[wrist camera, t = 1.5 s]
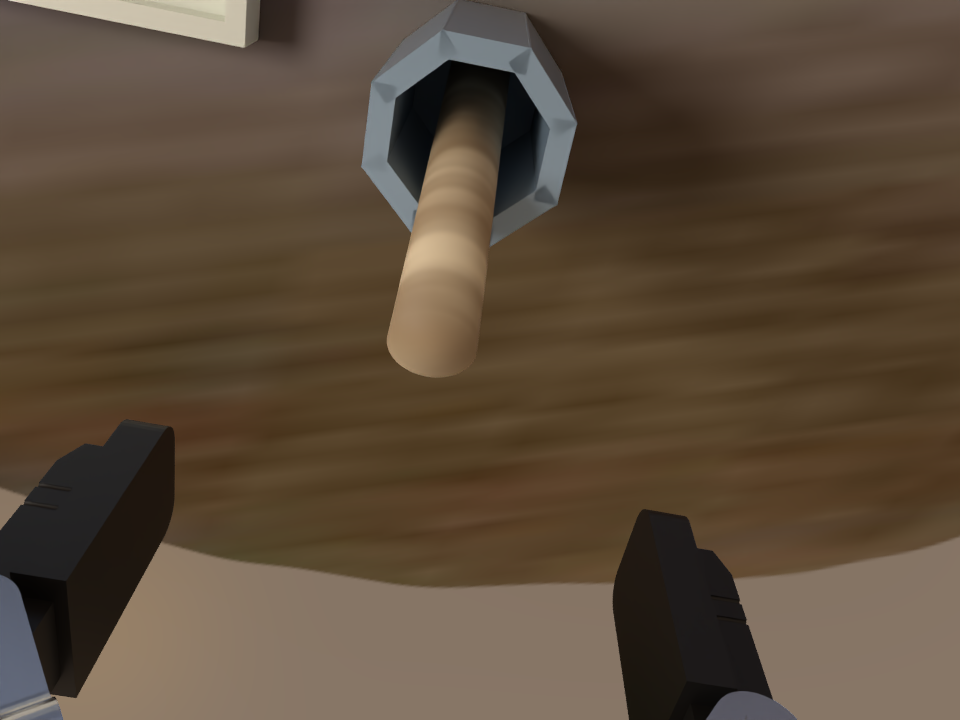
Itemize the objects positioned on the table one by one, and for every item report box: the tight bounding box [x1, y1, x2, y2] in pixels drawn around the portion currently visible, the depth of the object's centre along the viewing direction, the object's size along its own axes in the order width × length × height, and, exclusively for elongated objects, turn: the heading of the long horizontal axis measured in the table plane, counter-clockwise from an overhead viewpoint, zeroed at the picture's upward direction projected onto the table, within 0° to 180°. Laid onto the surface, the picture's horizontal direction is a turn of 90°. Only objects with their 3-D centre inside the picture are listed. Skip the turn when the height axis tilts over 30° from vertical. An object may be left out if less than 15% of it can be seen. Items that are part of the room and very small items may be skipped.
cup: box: [361, 0, 577, 246], centre depth 30 cm, size 7×7×9 cm
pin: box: [387, 60, 510, 377], centre depth 27 cm, size 6×2×16 cm, turn 169°
